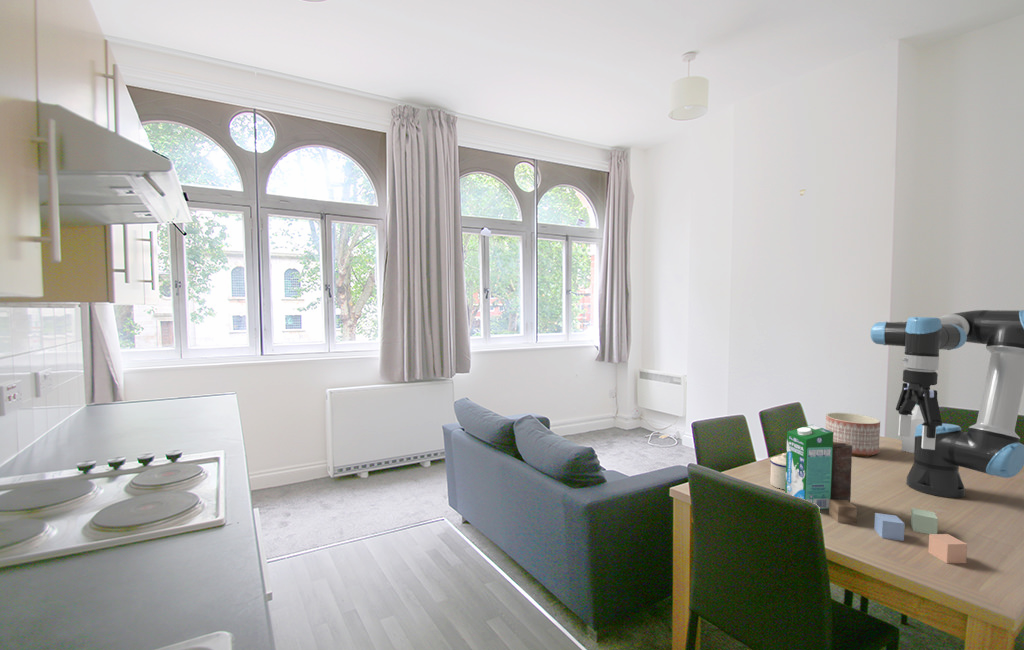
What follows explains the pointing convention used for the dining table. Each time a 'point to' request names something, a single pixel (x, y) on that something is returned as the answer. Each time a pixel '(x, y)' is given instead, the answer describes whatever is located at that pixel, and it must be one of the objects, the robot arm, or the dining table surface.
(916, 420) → the soap bottle
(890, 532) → the slate blue cube
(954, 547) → the terracotta cube
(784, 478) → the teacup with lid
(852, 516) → the walnut cube
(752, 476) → the dining table surface
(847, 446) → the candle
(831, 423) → the planter
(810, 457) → the milk carton
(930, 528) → the sage cube
